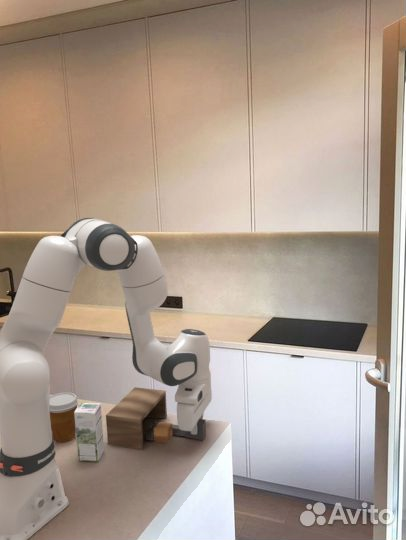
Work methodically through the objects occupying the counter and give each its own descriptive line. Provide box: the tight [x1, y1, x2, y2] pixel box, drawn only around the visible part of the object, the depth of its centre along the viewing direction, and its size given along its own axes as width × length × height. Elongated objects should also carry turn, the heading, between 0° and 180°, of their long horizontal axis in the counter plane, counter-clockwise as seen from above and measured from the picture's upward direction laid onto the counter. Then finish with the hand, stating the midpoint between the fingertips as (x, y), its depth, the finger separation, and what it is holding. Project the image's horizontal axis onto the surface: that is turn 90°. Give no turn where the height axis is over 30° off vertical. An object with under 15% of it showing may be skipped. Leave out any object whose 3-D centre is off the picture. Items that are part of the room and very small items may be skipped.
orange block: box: [153, 421, 174, 444], centre depth 141 cm, size 4×4×4 cm
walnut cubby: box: [105, 387, 168, 450], centre depth 145 cm, size 19×10×9 cm, turn 162°
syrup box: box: [74, 402, 105, 462], centre depth 132 cm, size 6×6×14 cm
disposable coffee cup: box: [49, 392, 79, 443], centre depth 143 cm, size 10×10×12 cm
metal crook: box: [145, 418, 207, 442], centre depth 140 cm, size 7×16×5 cm, turn 72°
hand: (196, 429), depth 141 cm, fingers closed on metal crook, 3 cm apart
